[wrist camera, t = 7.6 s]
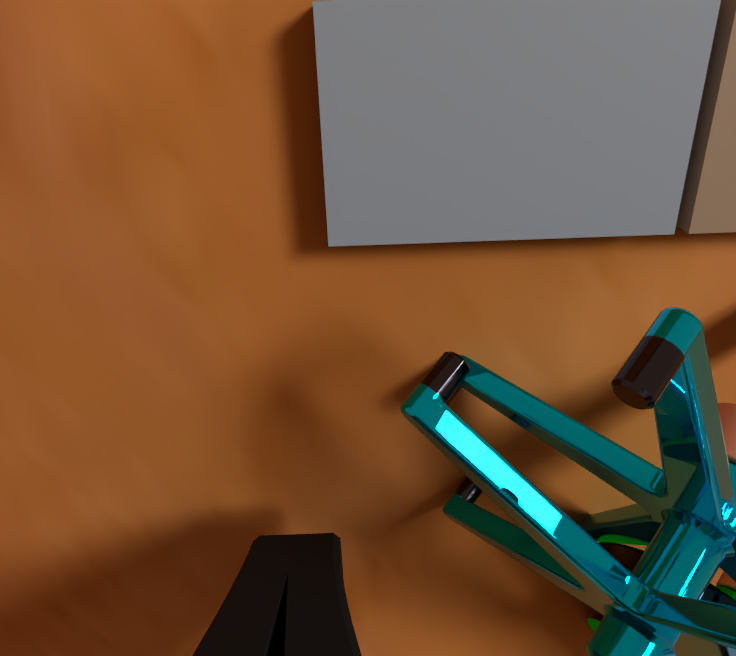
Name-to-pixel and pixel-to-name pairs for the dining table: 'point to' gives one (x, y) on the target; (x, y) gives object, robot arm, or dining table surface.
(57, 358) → the dining table surface
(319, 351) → the dining table surface
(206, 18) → the dining table surface
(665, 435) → the stick construction toy
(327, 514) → the dining table surface
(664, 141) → the track tiles
